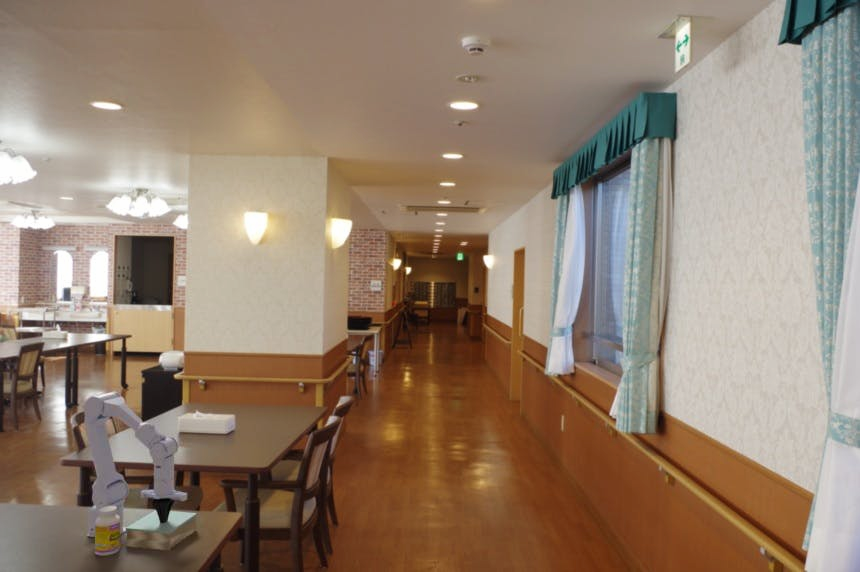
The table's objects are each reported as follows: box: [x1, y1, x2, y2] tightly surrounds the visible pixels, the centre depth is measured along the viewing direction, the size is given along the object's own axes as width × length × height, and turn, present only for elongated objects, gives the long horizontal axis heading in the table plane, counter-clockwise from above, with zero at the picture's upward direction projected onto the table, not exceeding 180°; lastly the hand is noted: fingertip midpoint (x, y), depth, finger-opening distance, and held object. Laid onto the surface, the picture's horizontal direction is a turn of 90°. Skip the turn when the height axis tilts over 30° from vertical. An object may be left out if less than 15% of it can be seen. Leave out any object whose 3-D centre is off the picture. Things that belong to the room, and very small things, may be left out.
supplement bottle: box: [94, 506, 121, 557], centre depth 188 cm, size 7×7×13 cm
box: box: [126, 515, 197, 551], centre depth 198 cm, size 14×15×5 cm
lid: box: [125, 509, 198, 534], centre depth 198 cm, size 14×15×1 cm
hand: (163, 522), depth 197 cm, fingers closed, pressing on lid
